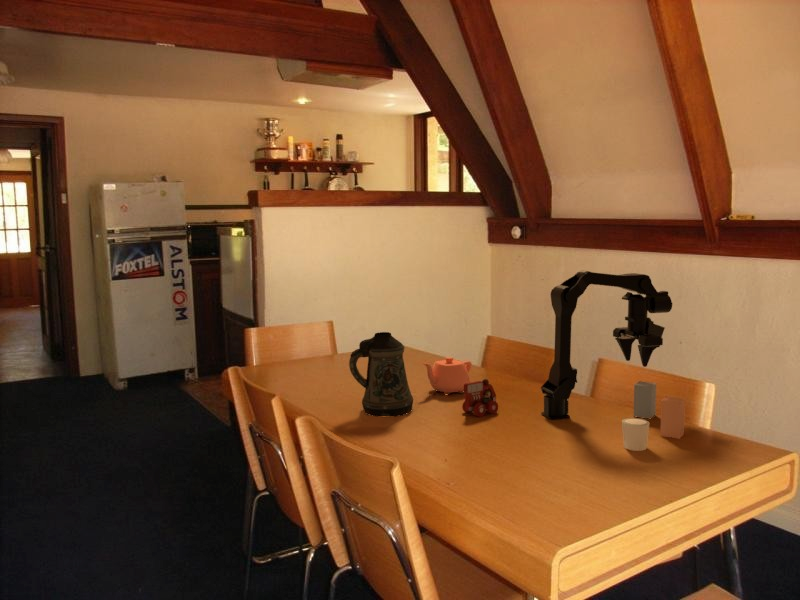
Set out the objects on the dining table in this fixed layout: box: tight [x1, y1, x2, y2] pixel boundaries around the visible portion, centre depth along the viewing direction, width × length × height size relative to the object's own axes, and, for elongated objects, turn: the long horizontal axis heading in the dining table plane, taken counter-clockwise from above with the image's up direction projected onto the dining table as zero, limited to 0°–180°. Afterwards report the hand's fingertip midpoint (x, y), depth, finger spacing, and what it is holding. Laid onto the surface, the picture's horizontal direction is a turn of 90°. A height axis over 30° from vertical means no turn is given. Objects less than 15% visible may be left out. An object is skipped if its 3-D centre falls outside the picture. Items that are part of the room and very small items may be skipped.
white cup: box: [621, 417, 651, 452], centre depth 178 cm, size 7×7×7 cm
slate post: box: [633, 380, 657, 419], centre depth 205 cm, size 5×5×10 cm
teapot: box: [422, 356, 472, 395], centre depth 239 cm, size 13×20×12 cm, turn 118°
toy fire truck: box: [461, 378, 499, 418], centre depth 212 cm, size 7×12×10 cm, turn 124°
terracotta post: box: [659, 396, 686, 440], centre depth 187 cm, size 5×5×10 cm
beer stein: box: [348, 331, 414, 417], centre depth 216 cm, size 16×19×25 cm
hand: (636, 363), depth 212 cm, fingers open, 9 cm apart
